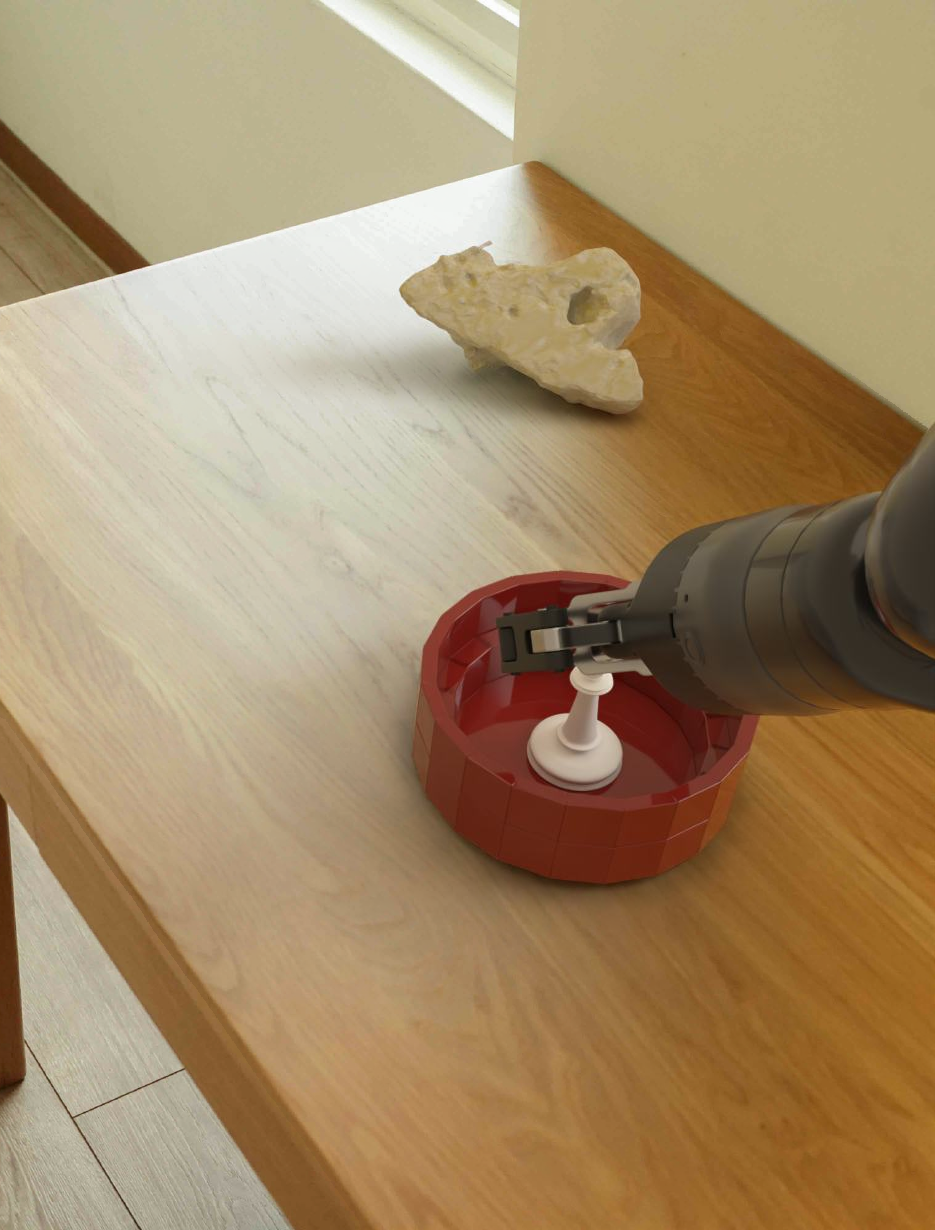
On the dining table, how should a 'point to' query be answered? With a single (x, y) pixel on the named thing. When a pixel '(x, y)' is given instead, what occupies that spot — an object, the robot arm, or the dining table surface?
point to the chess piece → (577, 740)
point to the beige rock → (540, 320)
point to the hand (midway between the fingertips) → (611, 631)
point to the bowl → (514, 705)
